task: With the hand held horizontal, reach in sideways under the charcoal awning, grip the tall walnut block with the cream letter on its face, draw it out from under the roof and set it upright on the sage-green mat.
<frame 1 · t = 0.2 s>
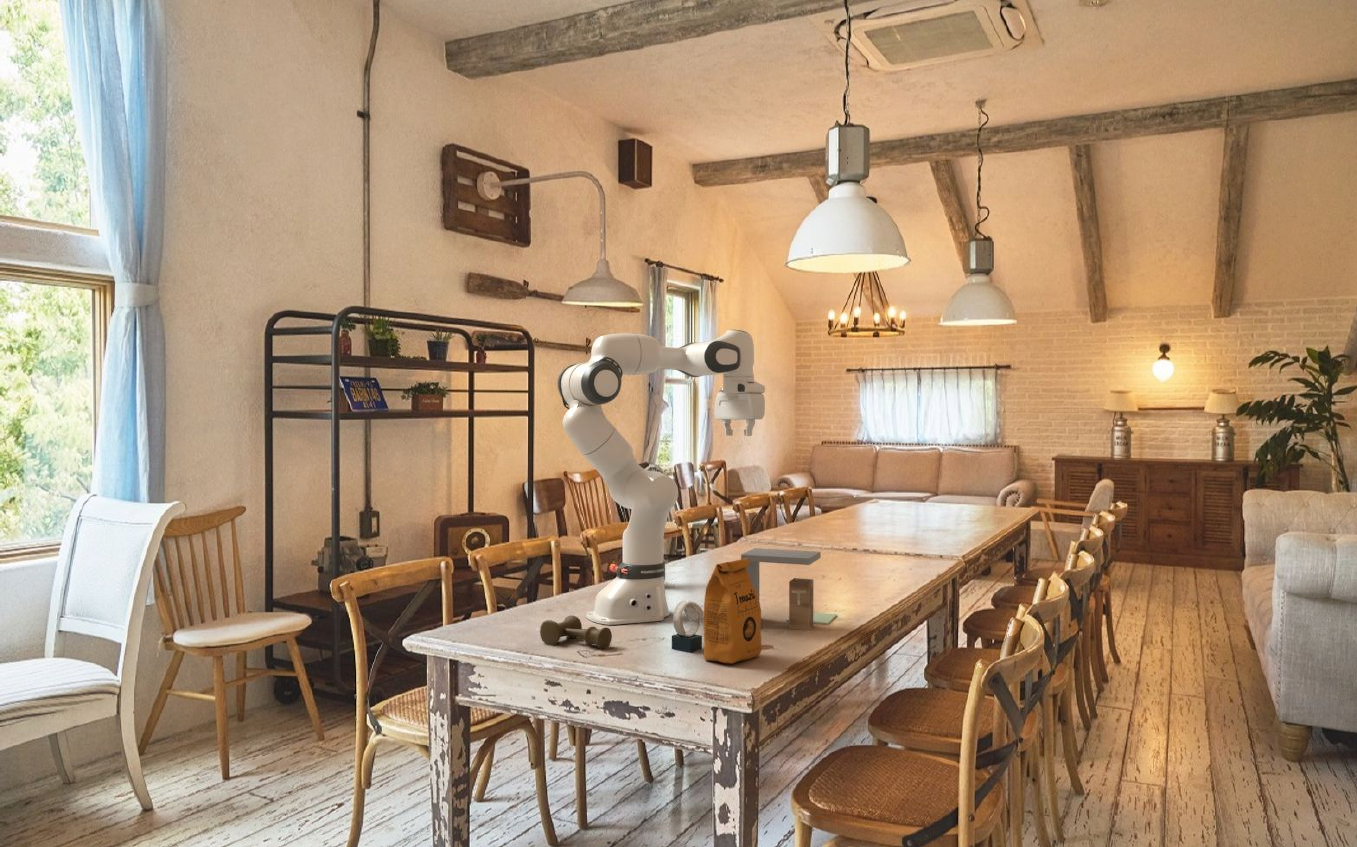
hand: (738, 435, 270), 48 cm above the table, tool pointing down, fingers open, 8 cm apart
white ring on block: (686, 649, 219), on the table
mat: (811, 618, 250), on the table
awning: (801, 627, 240), on the table
coffee package: (733, 660, 210), on the table
kendama: (573, 644, 225), on the table
decorative tree: (643, 586, 296), on the table
letter block: (801, 627, 240), on the table
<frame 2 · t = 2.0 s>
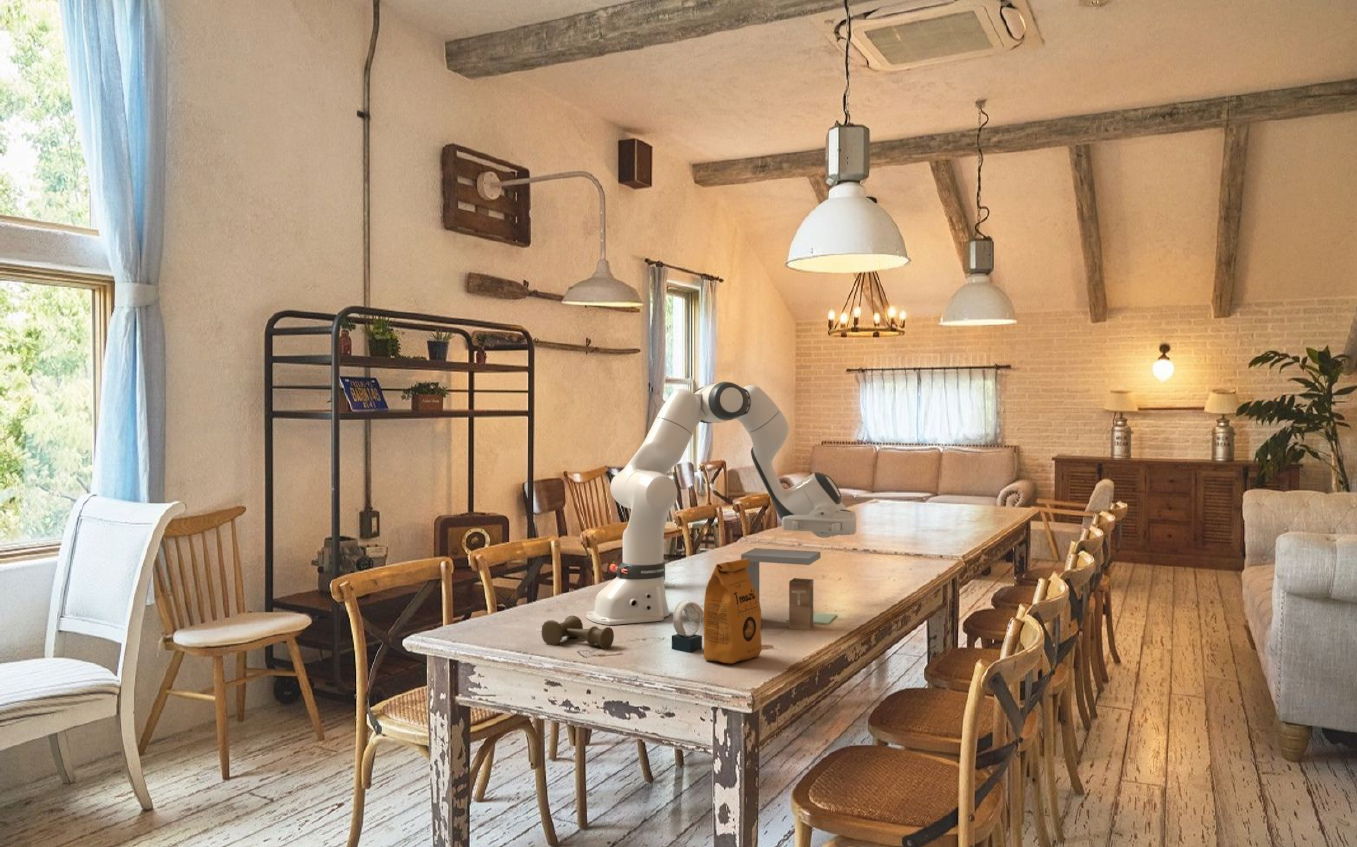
hand: (812, 527, 251), 24 cm above the table, tool horizontal, fingers open, 8 cm apart
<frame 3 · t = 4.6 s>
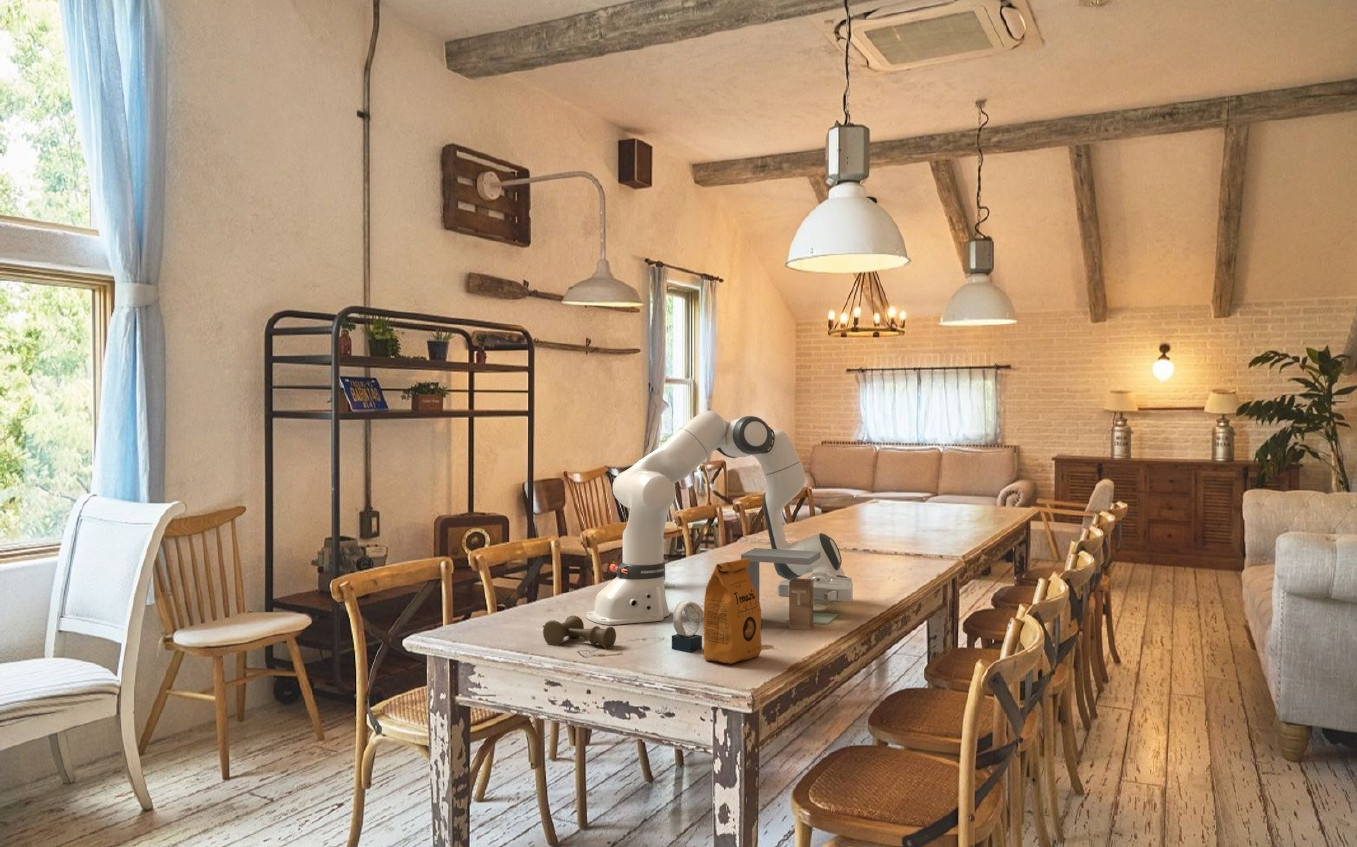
hand: (808, 595, 248), 6 cm above the table, tool horizontal, fingers open, 8 cm apart
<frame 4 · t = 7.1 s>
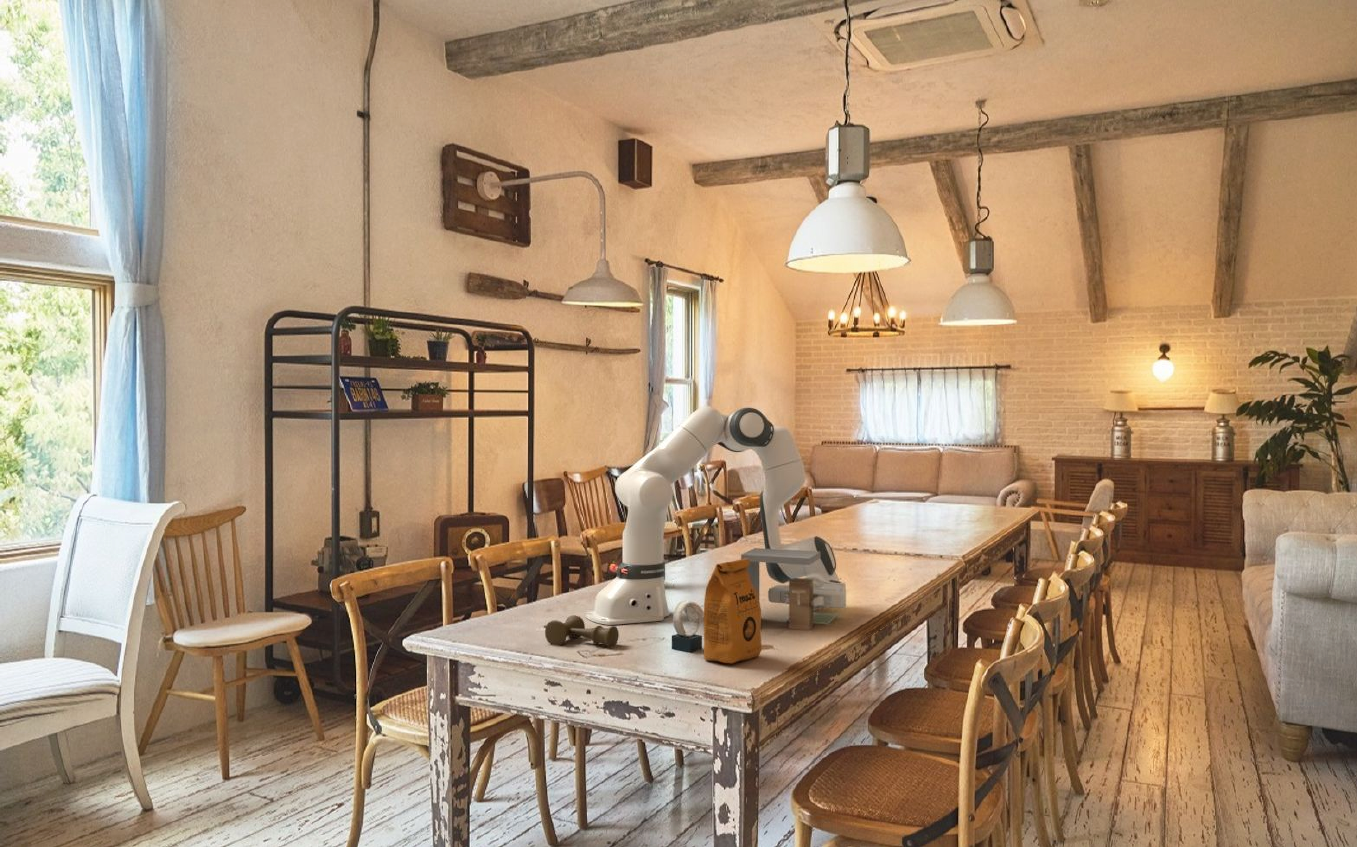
hand: (800, 602, 239), 7 cm above the table, tool horizontal, fingers closed on letter block, 5 cm apart
letter block: (801, 627, 240), on the table, touching gripper
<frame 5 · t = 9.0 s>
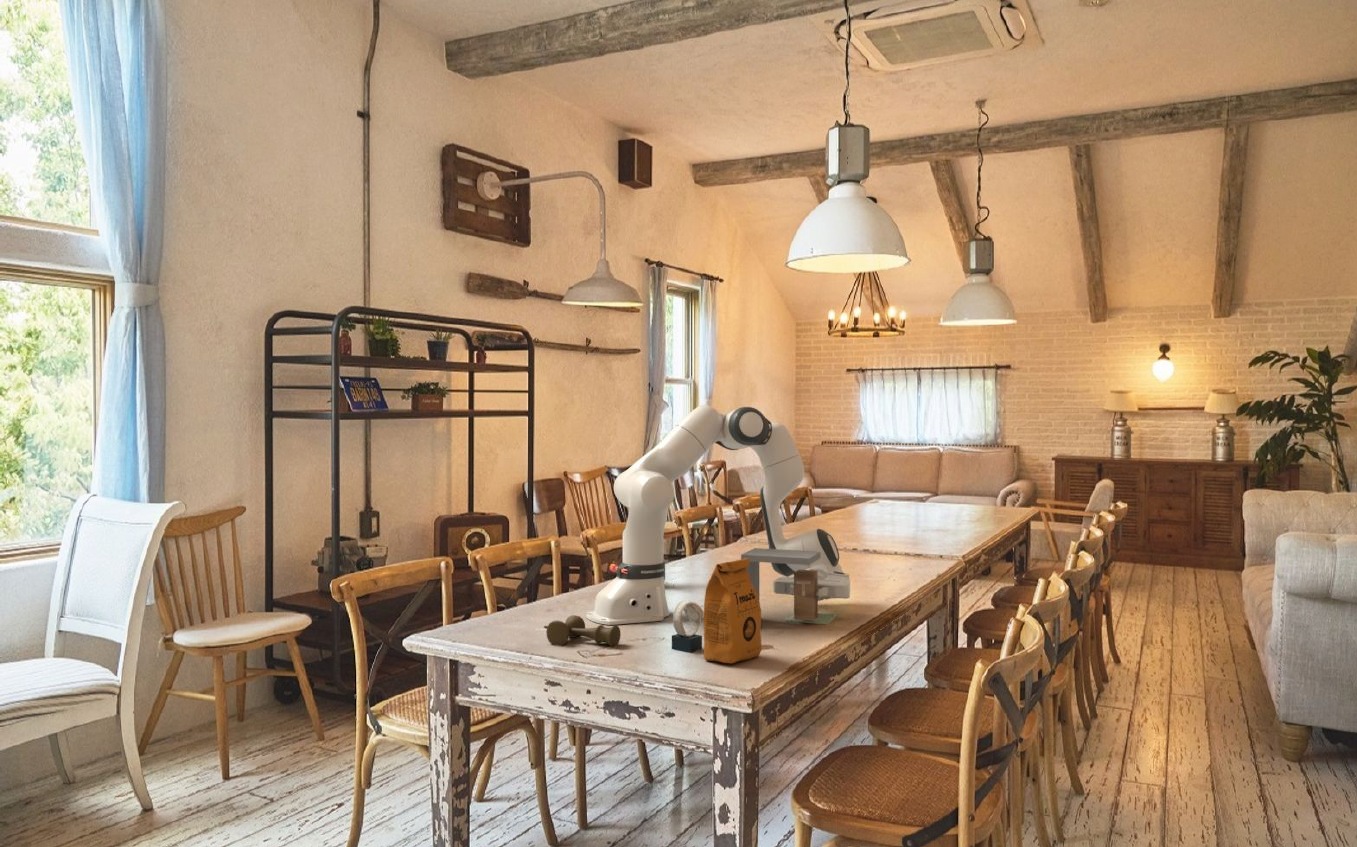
hand: (805, 592, 243), 8 cm above the table, tool horizontal, fingers closed on letter block, 5 cm apart
letter block: (806, 617, 244), point 2 cm above the table, touching gripper
when the fingers open (8 cm above the table, at t = 11.0 s): letter block stays where it is, resting on mat.
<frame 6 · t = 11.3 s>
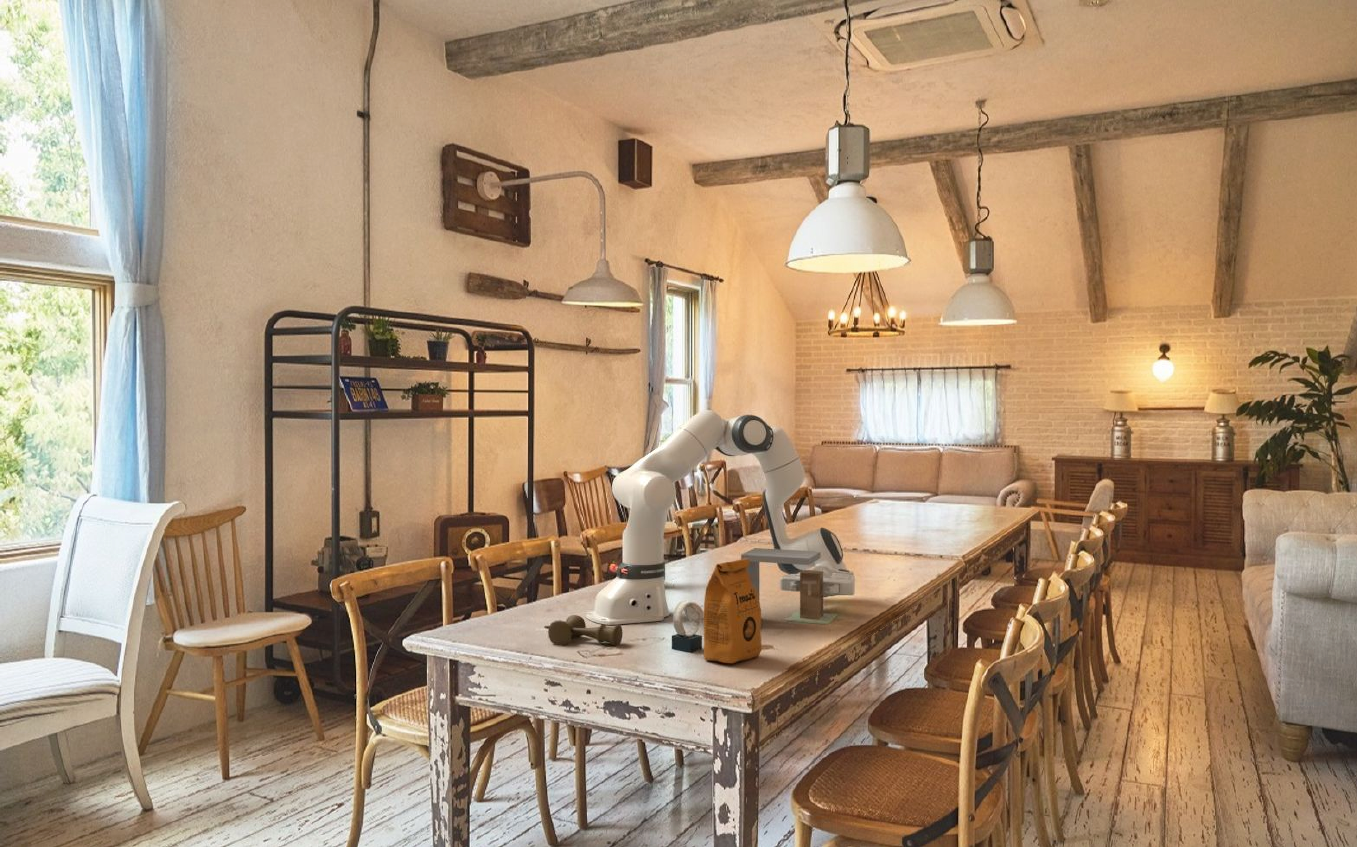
hand: (811, 589, 249), 8 cm above the table, tool horizontal, fingers open, 8 cm apart
letter block: (811, 616, 250), resting on mat
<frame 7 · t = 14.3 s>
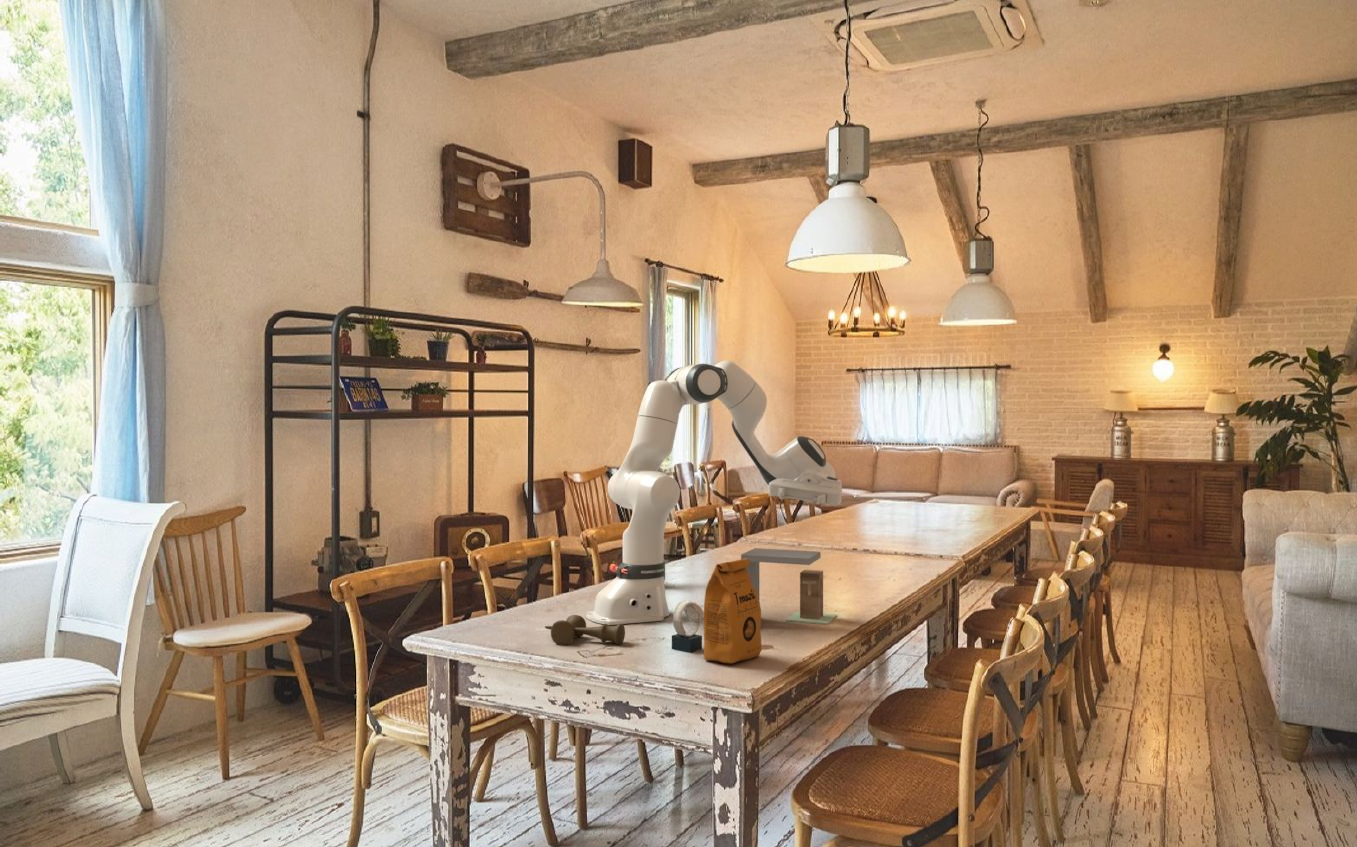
hand: (798, 498, 254), 31 cm above the table, tool horizontal, fingers open, 8 cm apart
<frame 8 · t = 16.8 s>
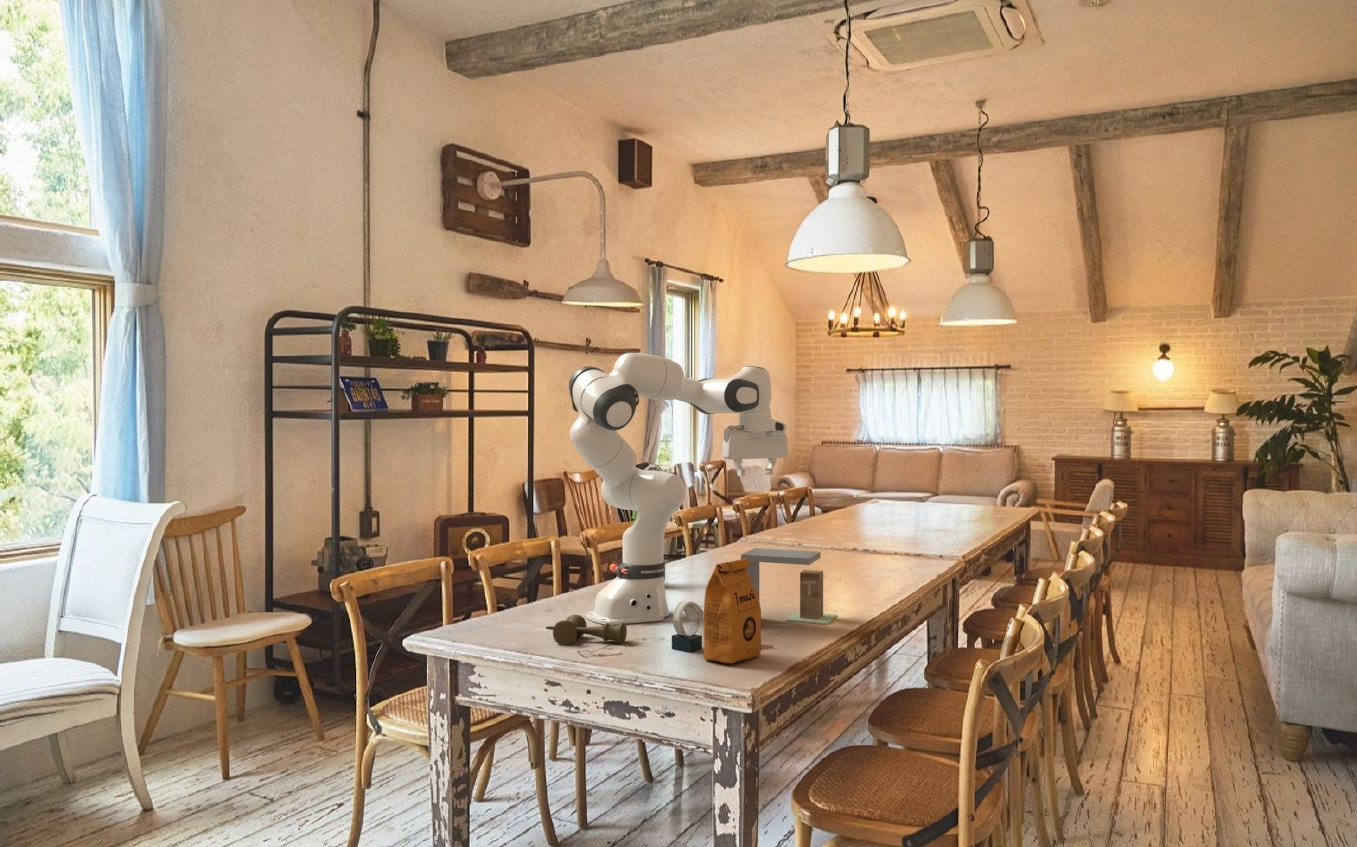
hand: (755, 475, 262), 37 cm above the table, tool pointing down, fingers open, 8 cm apart
at the end: letter block inside the target area on the mat (0.0 cm from its centre), point 0.4 cm above the mat's base; letter block tilted 0°; the gripper is holding nothing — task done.
